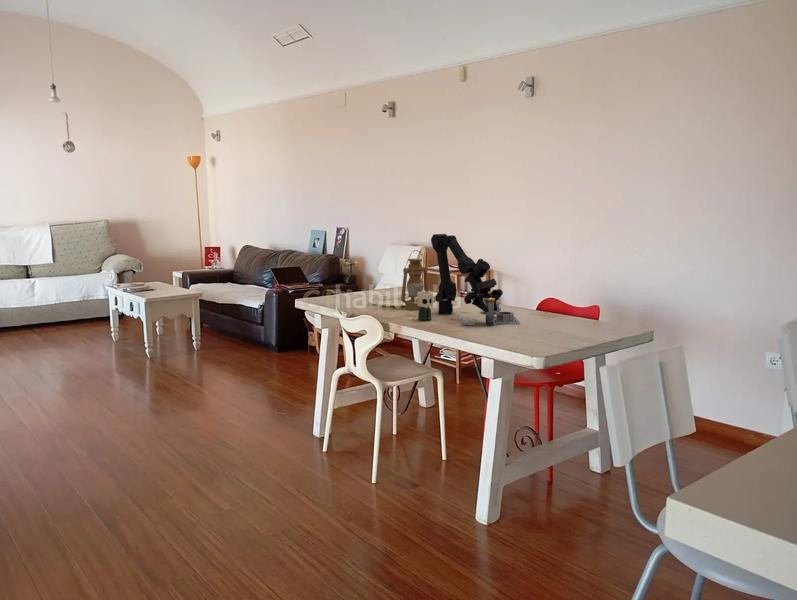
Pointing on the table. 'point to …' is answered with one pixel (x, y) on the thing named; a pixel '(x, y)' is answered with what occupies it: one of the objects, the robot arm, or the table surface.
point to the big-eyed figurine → (424, 304)
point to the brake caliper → (497, 306)
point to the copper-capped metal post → (490, 311)
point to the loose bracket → (467, 321)
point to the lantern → (414, 282)
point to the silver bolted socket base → (505, 318)
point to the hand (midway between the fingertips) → (491, 311)
